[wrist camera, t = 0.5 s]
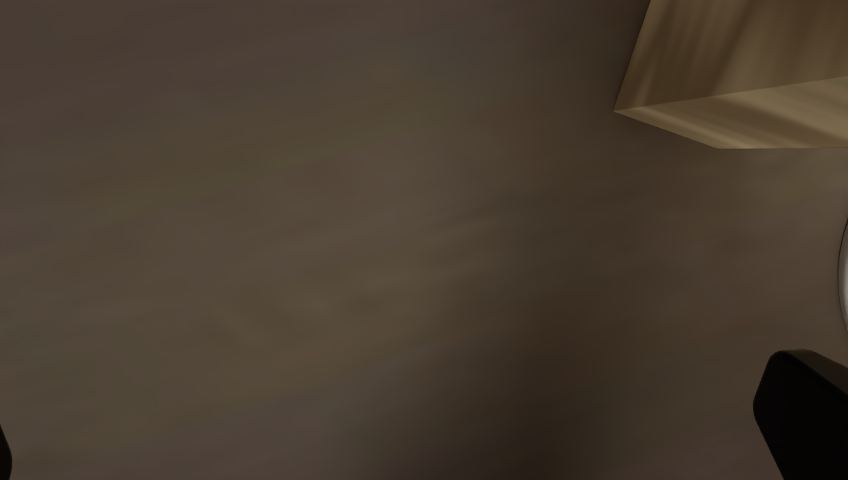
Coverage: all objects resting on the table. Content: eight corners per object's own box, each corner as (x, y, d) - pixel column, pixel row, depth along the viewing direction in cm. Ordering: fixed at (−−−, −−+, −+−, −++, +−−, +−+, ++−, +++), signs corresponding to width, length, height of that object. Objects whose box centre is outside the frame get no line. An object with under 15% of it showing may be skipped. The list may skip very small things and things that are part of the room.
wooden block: (717, 148, 22) (1215, 144, 9) (612, 111, 21) (1000, 53, 9) (759, 34, 21) (1334, -128, 9) (653, -8, 21) (1118, -245, 8)
